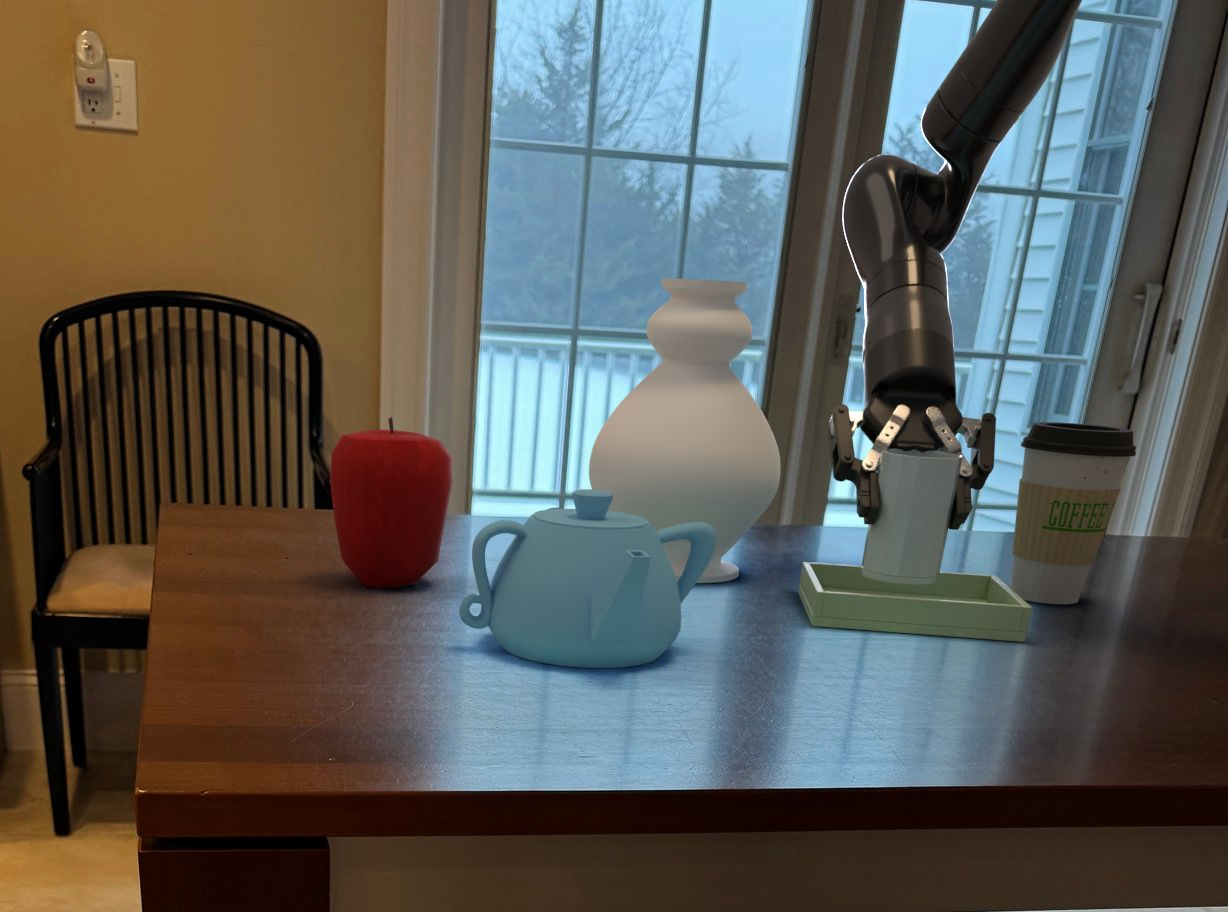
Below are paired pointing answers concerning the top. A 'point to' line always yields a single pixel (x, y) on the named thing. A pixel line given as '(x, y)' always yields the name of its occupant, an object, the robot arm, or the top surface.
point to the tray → (913, 604)
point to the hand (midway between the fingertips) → (914, 520)
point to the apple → (390, 504)
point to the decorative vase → (691, 429)
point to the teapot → (586, 585)
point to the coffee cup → (1065, 506)
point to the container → (911, 516)
